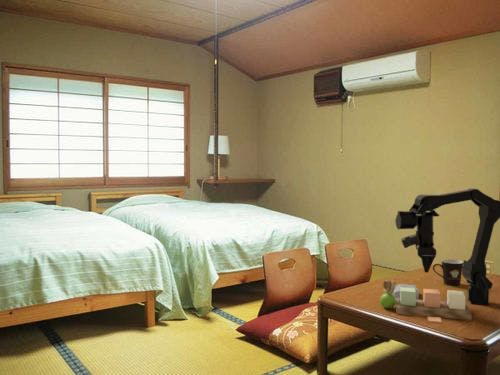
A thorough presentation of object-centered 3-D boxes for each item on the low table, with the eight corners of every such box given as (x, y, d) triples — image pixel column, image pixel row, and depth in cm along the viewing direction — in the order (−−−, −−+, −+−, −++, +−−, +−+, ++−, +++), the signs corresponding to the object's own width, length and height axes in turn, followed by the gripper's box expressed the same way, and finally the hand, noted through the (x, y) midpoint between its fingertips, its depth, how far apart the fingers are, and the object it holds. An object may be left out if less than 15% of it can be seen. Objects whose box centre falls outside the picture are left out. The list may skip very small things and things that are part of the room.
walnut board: (465, 309, 161) (465, 302, 160) (471, 319, 150) (471, 312, 150) (395, 304, 167) (395, 297, 167) (396, 313, 157) (396, 307, 156)
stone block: (394, 304, 173) (421, 300, 171) (392, 292, 173) (418, 288, 171) (391, 296, 185) (416, 292, 183) (389, 285, 185) (414, 281, 183)
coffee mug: (464, 283, 195) (464, 260, 195) (461, 287, 188) (461, 264, 188) (435, 279, 202) (436, 257, 201) (432, 284, 194) (432, 261, 194)
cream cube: (462, 305, 158) (462, 291, 158) (465, 309, 153) (465, 295, 153) (447, 304, 159) (447, 290, 159) (449, 308, 155) (449, 294, 154)
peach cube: (438, 303, 160) (438, 289, 160) (440, 307, 155) (440, 293, 155) (423, 302, 162) (423, 288, 161) (424, 306, 157) (424, 292, 156)
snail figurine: (388, 312, 158) (389, 278, 158) (376, 306, 164) (377, 274, 164) (400, 309, 161) (401, 277, 160) (388, 304, 167) (389, 273, 166)
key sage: (414, 301, 162) (414, 288, 162) (415, 305, 158) (415, 292, 157) (400, 300, 164) (400, 287, 163) (400, 304, 159) (400, 291, 159)
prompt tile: (440, 318, 151) (440, 317, 151) (441, 322, 147) (441, 321, 147) (427, 317, 152) (427, 316, 152) (428, 321, 149) (428, 320, 149)
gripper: (401, 224, 178) (402, 263, 179) (402, 231, 160) (403, 274, 161) (431, 224, 175) (432, 264, 176) (436, 232, 157) (436, 276, 158)
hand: (425, 269), depth 168 cm, fingers open, 9 cm apart
